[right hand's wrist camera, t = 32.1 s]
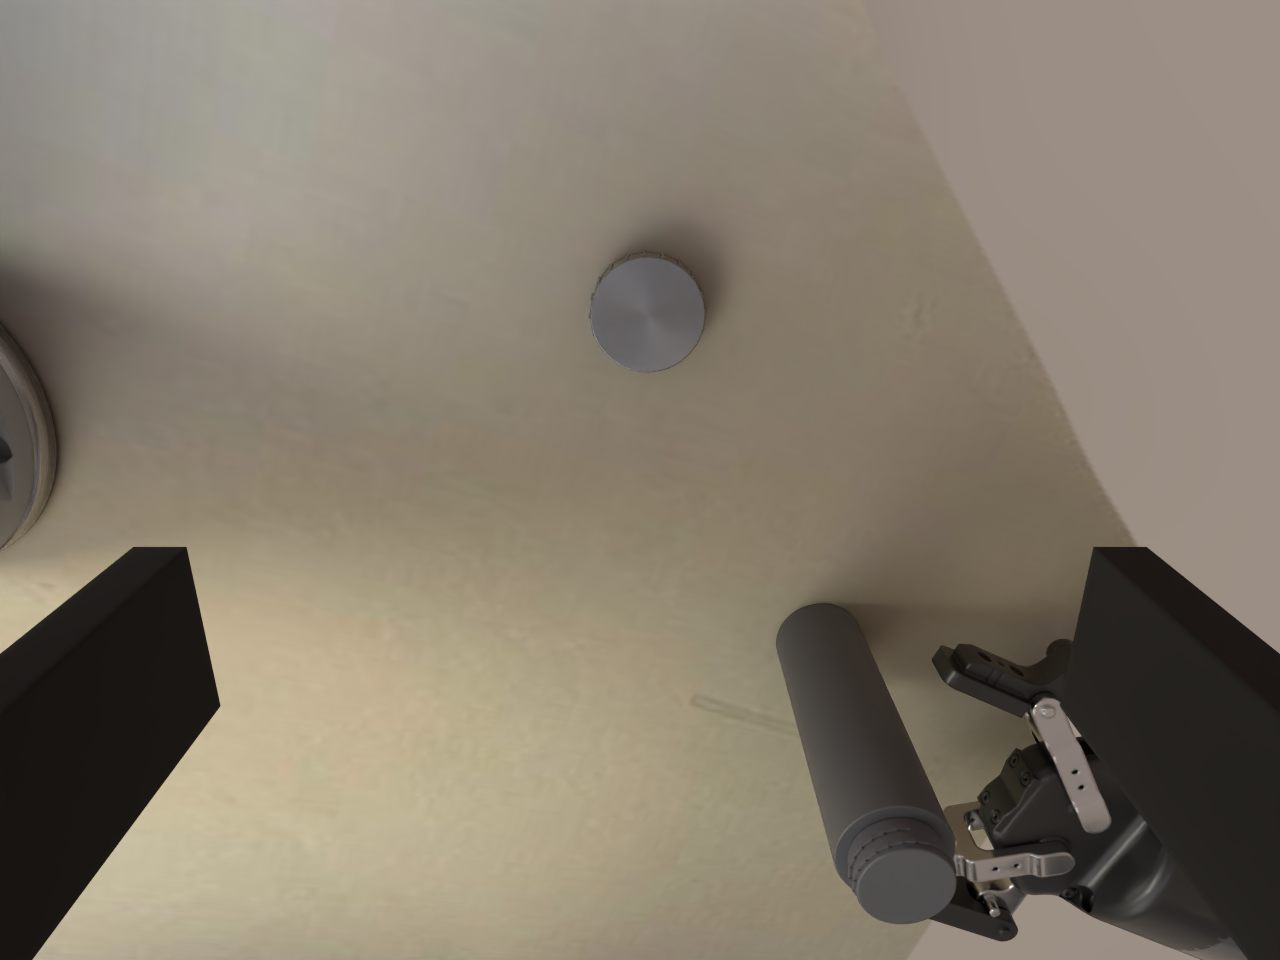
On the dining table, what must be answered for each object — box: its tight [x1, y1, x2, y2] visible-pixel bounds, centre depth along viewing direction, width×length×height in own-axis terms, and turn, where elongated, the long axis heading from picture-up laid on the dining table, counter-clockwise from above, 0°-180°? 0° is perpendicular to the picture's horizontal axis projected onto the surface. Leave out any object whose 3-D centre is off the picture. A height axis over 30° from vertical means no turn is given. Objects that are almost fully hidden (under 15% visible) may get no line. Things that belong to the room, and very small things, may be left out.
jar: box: [776, 604, 957, 924], centre depth 36 cm, size 4×4×15 cm
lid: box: [589, 251, 706, 372], centre depth 36 cm, size 5×5×2 cm
